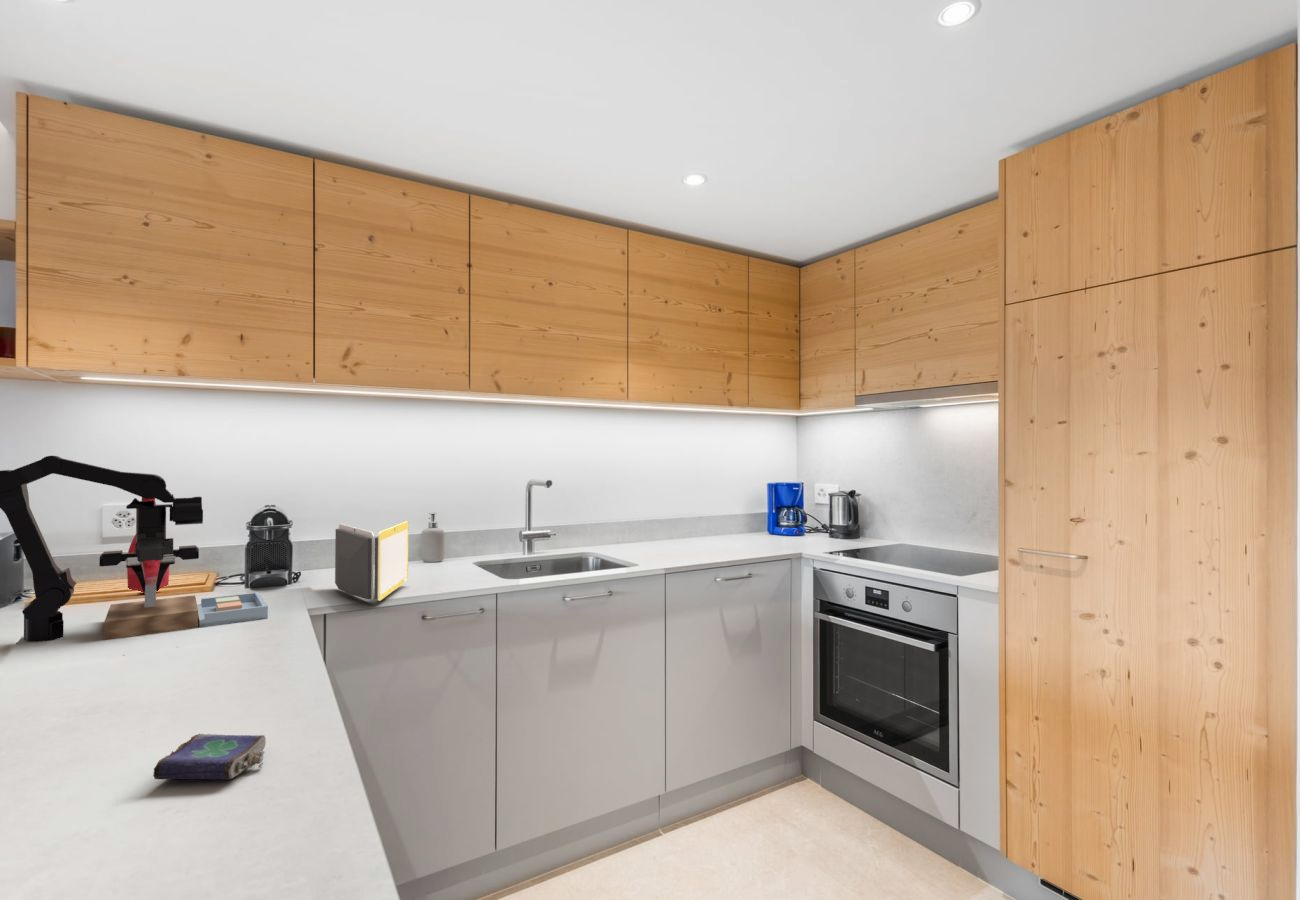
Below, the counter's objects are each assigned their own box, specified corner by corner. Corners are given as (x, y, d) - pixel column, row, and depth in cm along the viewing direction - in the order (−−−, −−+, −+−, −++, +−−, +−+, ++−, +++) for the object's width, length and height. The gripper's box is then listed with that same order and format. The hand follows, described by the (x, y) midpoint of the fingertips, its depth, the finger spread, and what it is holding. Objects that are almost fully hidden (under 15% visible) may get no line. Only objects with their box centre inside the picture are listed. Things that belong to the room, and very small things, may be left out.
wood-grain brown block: (104, 639, 143) (104, 621, 143) (110, 620, 159) (110, 604, 159) (198, 627, 153) (198, 610, 153) (195, 610, 169) (195, 595, 169)
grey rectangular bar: (144, 607, 149) (145, 585, 149) (146, 597, 160) (146, 577, 161) (155, 606, 150) (156, 584, 151) (156, 596, 162) (156, 576, 162)
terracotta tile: (242, 604, 162) (242, 614, 162) (240, 601, 166) (240, 610, 166) (218, 607, 159) (218, 617, 159) (217, 603, 163) (217, 613, 163)
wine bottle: (119, 593, 189) (119, 491, 189) (155, 587, 198) (156, 489, 198) (140, 596, 185) (140, 492, 185) (176, 589, 194) (176, 490, 194)
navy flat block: (200, 730, 89) (281, 732, 89) (199, 751, 89) (279, 753, 89) (153, 763, 79) (243, 765, 80) (151, 786, 79) (242, 789, 80)
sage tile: (239, 599, 167) (239, 609, 167) (238, 595, 171) (237, 605, 171) (216, 602, 164) (216, 611, 164) (215, 598, 168) (215, 608, 168)
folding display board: (326, 585, 201) (326, 522, 201) (395, 576, 216) (395, 517, 216) (367, 605, 176) (368, 533, 176) (443, 593, 191) (443, 526, 191)
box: (199, 627, 153) (199, 614, 153) (196, 610, 169) (196, 599, 169) (267, 618, 162) (267, 606, 162) (258, 603, 178) (258, 592, 178)
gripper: (97, 532, 144) (97, 603, 144) (199, 527, 155) (199, 592, 155) (101, 527, 153) (101, 594, 153) (198, 522, 164) (197, 584, 164)
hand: (151, 591), depth 156 cm, fingers closed on grey rectangular bar, 2 cm apart
